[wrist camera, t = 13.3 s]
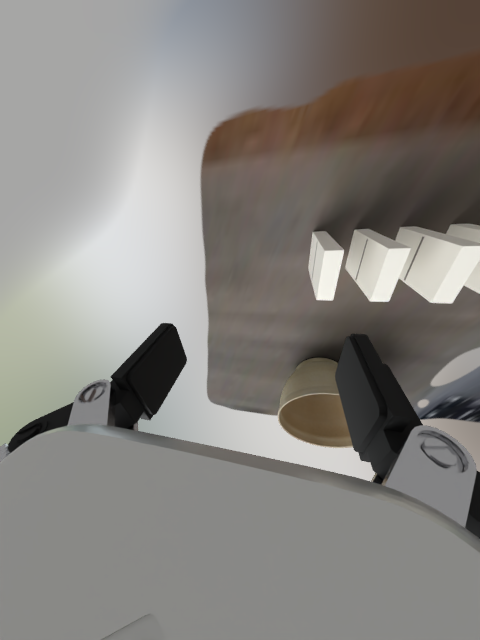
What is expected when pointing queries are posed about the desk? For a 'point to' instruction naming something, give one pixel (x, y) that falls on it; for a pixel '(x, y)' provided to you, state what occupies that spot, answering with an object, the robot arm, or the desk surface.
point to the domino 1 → (324, 264)
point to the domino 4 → (475, 233)
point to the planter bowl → (314, 405)
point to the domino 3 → (437, 263)
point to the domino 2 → (376, 263)
